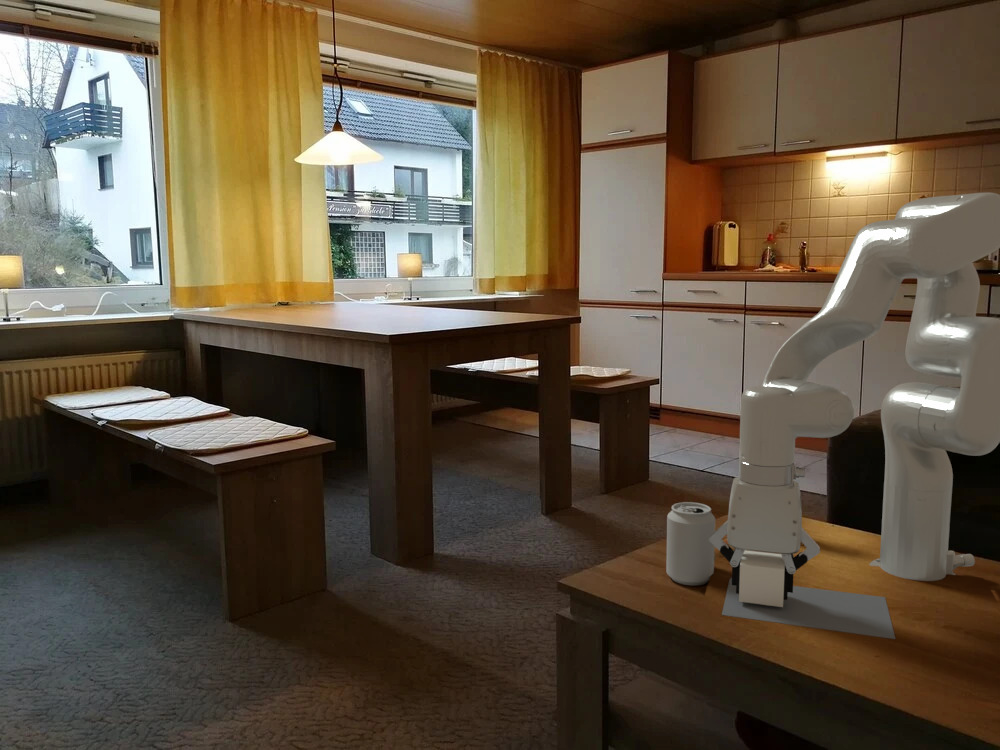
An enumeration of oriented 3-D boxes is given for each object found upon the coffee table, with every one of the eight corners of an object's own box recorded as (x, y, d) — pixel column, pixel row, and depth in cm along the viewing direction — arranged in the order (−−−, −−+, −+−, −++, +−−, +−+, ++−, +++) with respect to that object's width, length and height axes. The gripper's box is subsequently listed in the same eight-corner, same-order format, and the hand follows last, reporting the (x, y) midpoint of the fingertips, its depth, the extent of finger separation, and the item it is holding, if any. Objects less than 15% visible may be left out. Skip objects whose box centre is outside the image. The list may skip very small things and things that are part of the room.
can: (715, 589, 124) (717, 515, 122) (666, 585, 125) (667, 512, 123) (712, 571, 131) (714, 501, 129) (666, 568, 132) (667, 498, 131)
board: (884, 606, 116) (885, 597, 116) (894, 649, 103) (895, 638, 103) (729, 587, 124) (729, 578, 124) (721, 624, 111) (721, 614, 111)
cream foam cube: (783, 590, 117) (785, 554, 117) (783, 607, 112) (784, 569, 111) (741, 585, 119) (742, 550, 119) (738, 601, 114) (740, 564, 113)
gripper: (830, 471, 114) (824, 591, 116) (707, 462, 120) (704, 576, 122) (831, 485, 107) (826, 612, 109) (701, 474, 113) (698, 595, 115)
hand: (761, 592), depth 116 cm, fingers closed on cream foam cube, 5 cm apart
